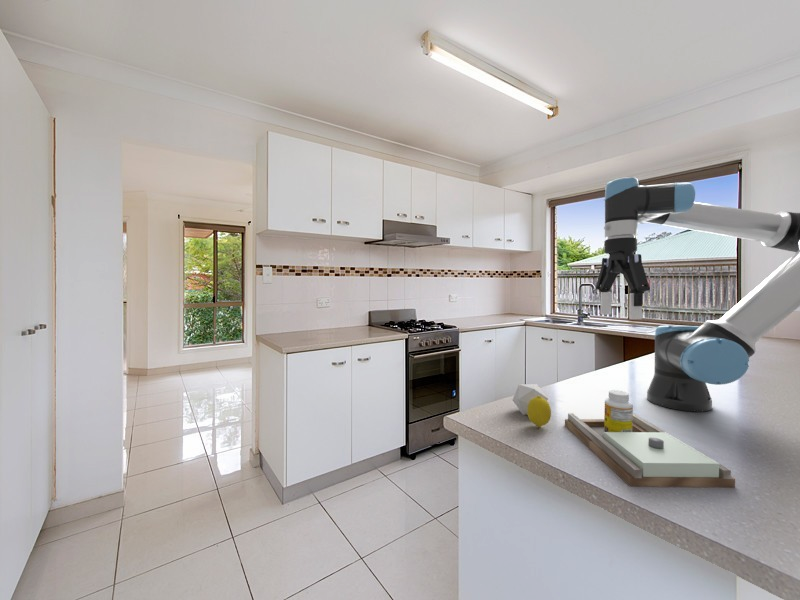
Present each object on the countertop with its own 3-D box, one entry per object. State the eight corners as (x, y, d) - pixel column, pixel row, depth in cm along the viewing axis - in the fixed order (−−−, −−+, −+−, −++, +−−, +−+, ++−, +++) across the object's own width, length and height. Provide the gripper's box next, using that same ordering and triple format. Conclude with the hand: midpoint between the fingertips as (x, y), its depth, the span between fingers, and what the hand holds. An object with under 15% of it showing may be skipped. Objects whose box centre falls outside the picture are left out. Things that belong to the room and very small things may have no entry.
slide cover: (666, 443, 75) (666, 426, 75) (718, 477, 62) (719, 456, 62) (603, 443, 75) (604, 426, 75) (643, 476, 62) (643, 456, 62)
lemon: (533, 421, 92) (533, 391, 92) (554, 427, 88) (554, 395, 88) (523, 427, 88) (523, 396, 88) (545, 434, 84) (545, 401, 84)
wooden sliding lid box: (637, 425, 88) (637, 413, 88) (735, 487, 62) (735, 470, 61) (564, 424, 89) (564, 413, 89) (629, 486, 62) (630, 469, 62)
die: (543, 423, 92) (557, 391, 95) (513, 406, 93) (528, 374, 96) (531, 423, 100) (545, 392, 102) (504, 406, 101) (518, 377, 104)
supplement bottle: (607, 428, 86) (607, 387, 85) (634, 435, 82) (635, 392, 81) (601, 436, 81) (602, 392, 81) (629, 443, 78) (630, 397, 77)
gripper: (583, 243, 107) (583, 313, 108) (635, 231, 82) (634, 321, 83) (608, 243, 107) (608, 312, 108) (668, 231, 82) (666, 321, 83)
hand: (619, 316), depth 96 cm, fingers open, 13 cm apart
